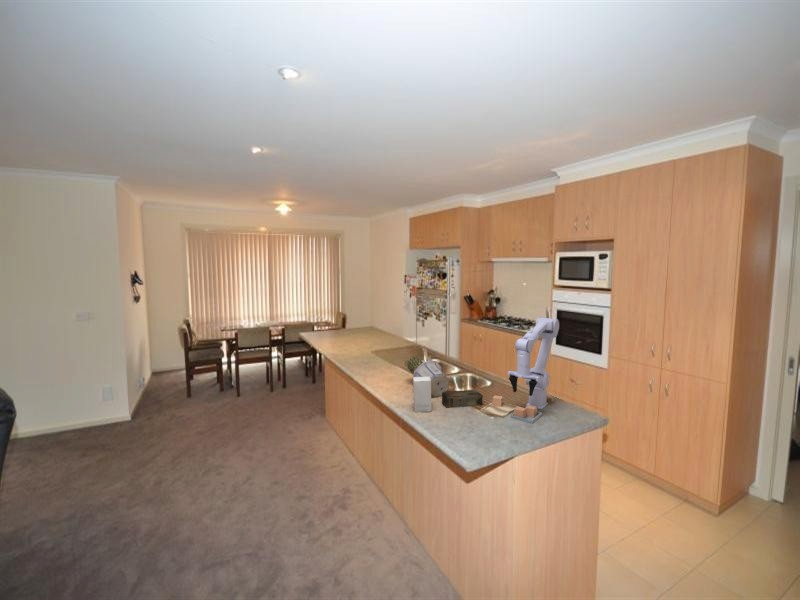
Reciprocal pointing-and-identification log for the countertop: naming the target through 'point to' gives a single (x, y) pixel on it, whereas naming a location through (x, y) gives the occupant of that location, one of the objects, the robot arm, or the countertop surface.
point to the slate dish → (527, 418)
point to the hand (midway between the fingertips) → (522, 393)
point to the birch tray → (498, 409)
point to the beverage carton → (461, 398)
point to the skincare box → (422, 394)
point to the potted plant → (430, 374)
